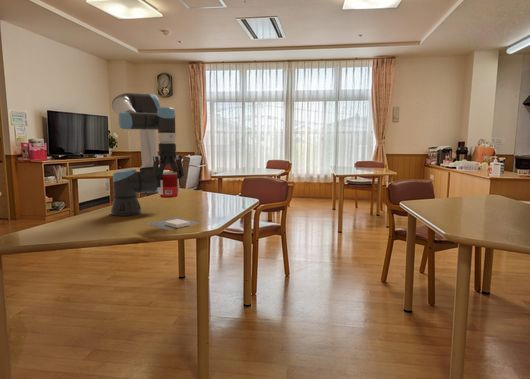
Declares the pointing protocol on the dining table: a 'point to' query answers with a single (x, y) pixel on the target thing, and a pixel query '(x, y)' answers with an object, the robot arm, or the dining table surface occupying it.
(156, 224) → the slate board
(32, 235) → the dining table surface
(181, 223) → the tile
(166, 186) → the canned food
